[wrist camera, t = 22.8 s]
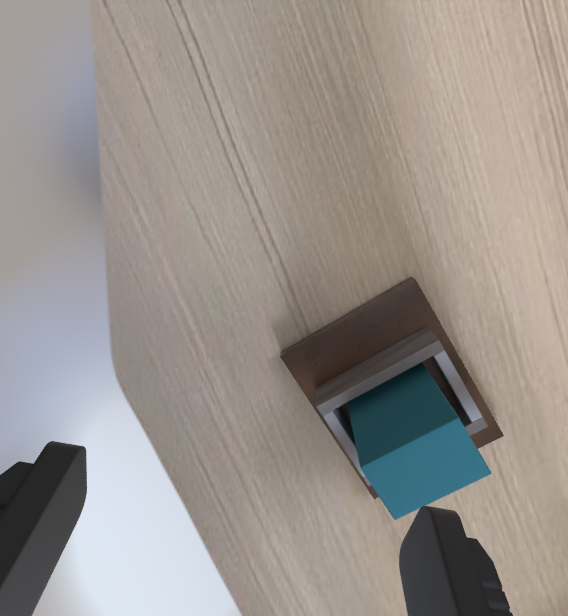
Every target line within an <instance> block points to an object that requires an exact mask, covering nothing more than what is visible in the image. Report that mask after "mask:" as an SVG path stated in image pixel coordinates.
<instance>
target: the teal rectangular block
mask: <svg viewBox="0 0 568 616" xmlns="http://www.w3.org/2000/svg"><path fill="white" fill-rule="evenodd" d="M347 404H348V409H349V414H350V419H351V424H352V429H353V434H354V439H355V444H356V449H357V454H358V459H359V464H360V468H361V470H362V471H363V473H364V474H365V476H366V477H367V479H368V480H369V482H370V483H371V485H372V486H373V488H374V489H375V491H376V492H377V494H378V495H379V497H380V499H381V500H382V502H383V503H384V505H385V506H386V508H387V509H388V511H389V512H390V514H391V515H392V517H393V518H394V519H395V520H396V519H398V518H400V517H402V516H404V515H406V514H408V513H411V512H413V511H415V510H417V509H419V508H421V507H422V506H425V505H427V504H429V503H431V502H434V501H436V500H438V499H440V498H442V497H444V496H446V495H448V494H450V493H452V492H454V491H456V490H459V489H461V488H463V487H465V486H467V485H469V484H471V483H473V482H475V481H477V480H479V479H481V478H484V477H486V476H488V475H490V474H491V471H490V470H489V468H488V466H487V465H486V463H485V461H484V459H483V458H482V456H481V454H480V453H479V451H478V449H477V447H476V446H475V444H474V442H473V441H472V439H471V437H470V436H469V434H468V432H467V430H466V429H465V427H464V425H463V424H462V422H461V420H460V418H459V417H458V415H457V414H456V412H455V411H454V409H453V408H452V406H451V405H450V403H449V402H448V400H447V399H446V397H445V396H444V394H443V393H442V391H441V390H440V388H439V387H438V386H437V384H436V383H435V381H434V380H433V378H432V377H431V375H430V374H429V372H428V371H427V369H426V368H425V366H424V365H423V363H422V362H421V363H419V364H417V365H415V366H413V367H412V368H410V369H408V370H406V371H404V372H402V373H400V374H399V375H397V376H395V377H393V378H391V379H389V380H387V381H386V382H384V383H382V384H380V385H378V386H376V387H374V388H373V389H371V390H369V391H367V392H365V393H363V394H361V395H360V396H358V397H356V398H354V399H352V400H350V401H348V402H347Z"/></svg>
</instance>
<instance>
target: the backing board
mask: <svg viewBox="0 0 568 616" xmlns="http://www.w3.org/2000/svg"><path fill="white" fill-rule="evenodd" d="M281 359H282V360H283V362H284V363H285V365H286V366H287V368H288V369H289V371H290V372H291V374H292V375H293V377H294V378H295V380H296V381H297V383H298V384H299V386H300V387H301V389H302V390H303V392H304V394H305V395H306V397H307V398H308V400H309V401H310V403H311V404H312V406H313V407H314V409H315V410H316V412H317V413H318V415H319V416H320V418H321V419H322V421H323V422H324V424H325V425H326V427H327V428H328V430H329V431H330V433H331V434H332V436H333V437H334V439H335V440H336V442H337V443H338V445H339V446H340V448H341V449H342V451H343V453H344V454H345V456H346V457H347V459H348V460H349V462H350V463H351V465H352V466H353V468H354V469H355V471H356V472H357V474H358V475H359V477H360V478H361V480H362V481H363V483H364V484H365V486H366V487H367V489H368V490H369V492H370V493H371V495H372V496H373V498H374V499H376V498H378V497H379V495H378V494H377V492H376V491H375V489H374V488H373V486H372V485H371V483H370V482H369V480H368V479H367V477H366V476H365V474H364V473H363V471H362V470H361V468H360V464H359V459H358V454H357V449H356V444H355V439H354V434H353V429H352V424H351V419H350V414H349V409H348V404H347V402H348V401H350V400H352V399H354V398H356V397H358V396H360V395H361V394H363V393H365V392H367V391H369V390H371V389H373V388H374V387H376V386H378V385H380V384H382V383H384V382H386V381H387V380H389V379H391V378H393V377H395V376H397V375H399V374H400V373H402V372H404V371H406V370H408V369H410V368H412V367H413V366H415V365H417V364H419V363H421V362H422V363H423V365H424V366H425V368H426V369H427V371H428V372H429V374H430V375H431V377H432V378H433V380H434V381H435V383H436V384H437V386H438V387H439V388H440V390H441V391H442V393H443V394H444V396H445V397H446V399H447V400H448V402H449V403H450V405H451V406H452V408H453V409H454V411H455V412H456V414H457V415H458V417H459V418H460V420H461V422H462V424H463V425H464V427H465V429H466V430H467V432H468V434H469V436H470V437H471V439H472V441H473V442H474V444H475V446H476V447H477V449H478V448H480V447H482V446H484V445H486V444H488V443H490V442H492V441H494V440H496V439H498V438H500V437H502V436H503V433H502V432H501V430H500V428H499V426H498V425H497V423H496V421H495V419H494V418H493V416H492V414H491V412H490V410H489V409H488V407H487V405H486V403H485V402H484V400H483V398H482V396H481V395H480V393H479V391H478V389H477V387H476V386H475V384H474V382H473V380H472V379H471V377H470V375H469V373H468V372H467V370H466V368H465V366H464V364H463V363H462V361H461V359H460V357H459V356H458V354H457V352H456V350H455V349H454V347H453V345H452V343H451V341H450V340H449V338H448V336H447V334H446V333H445V331H444V329H443V327H442V326H441V324H440V322H439V320H438V318H437V317H436V315H435V313H434V311H433V310H432V308H431V306H430V304H429V303H428V301H427V299H426V297H425V295H424V294H423V292H422V290H421V288H420V287H419V285H418V283H417V281H416V280H415V279H414V278H413V277H411V278H409V279H407V280H406V281H404V282H402V283H401V284H399V285H397V286H395V287H394V288H392V289H390V290H388V291H387V292H385V293H383V294H381V295H380V296H378V297H376V298H374V299H373V300H371V301H369V302H368V303H366V304H364V305H362V306H361V307H359V308H357V309H355V310H354V311H352V312H350V313H348V314H347V315H345V316H343V317H341V318H340V319H338V320H336V321H335V322H333V323H331V324H329V325H328V326H326V327H324V328H322V329H321V330H319V331H317V332H315V333H314V334H312V335H310V336H308V337H307V338H305V339H303V340H302V341H300V342H298V343H296V344H295V345H293V346H291V347H289V348H288V349H286V350H284V351H282V352H281Z"/></svg>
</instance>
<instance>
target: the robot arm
mask: <svg viewBox="0 0 568 616" xmlns="http://www.w3.org/2000/svg"><path fill="white" fill-rule="evenodd" d="M86 474H87V472H86V449H85V447H83V446H77V445H72V444H66V443H60V442H54V441H51V442H49V443H48V444H47V445H46V446H45V447H44V449H43V451H42V452H41V453H40V455H39V457H38V458H37V460H36V461H35V463H34V464H31V463H25V462H18V463H16V464H15V465H13V466H12V467H11V468H9V469H8V470H6V471H5V472H4V473H2V474H1V475H0V616H32V614H33V612H34V610H35V607H36V605H37V603H38V601H39V599H40V597H41V595H42V593H43V591H44V589H45V587H46V585H47V583H48V581H49V579H50V577H51V575H52V573H53V571H54V568H55V566H56V564H57V562H58V560H59V558H60V556H61V554H62V552H63V550H64V548H65V546H66V544H67V542H68V540H69V538H70V535H71V534H72V531H73V529H74V527H75V525H76V523H77V521H78V519H79V517H80V514H81V512H82V509H83V506H84V502H85V498H86V493H87V475H86ZM399 566H400V574H401V579H402V585H403V590H404V596H405V601H406V607H407V612H408V616H513V615H512V613H510V611H509V608H510V607H509V604H508V601H507V599H506V596H505V593H504V592H502V585H501V582H500V580H499V577H498V574H497V571H496V569H495V566H494V563H493V561H492V560H491V558H490V557H489V556H488V554H487V553H486V551H485V550H484V549H483V547H482V546H481V544H480V543H479V542H478V540H477V539H473V538H467V537H466V534H465V531H464V528H463V525H462V522H461V519H460V517H459V515H458V514H457V513H456V512H455V511H452V510H446V509H441V508H435V507H429V506H422V507H421V508H420V510H419V512H418V514H417V515H416V517H415V519H414V521H413V523H412V525H411V527H410V529H409V531H408V533H407V535H406V536H405V538H404V540H403V542H402V545H401V549H400V556H399Z"/></svg>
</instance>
